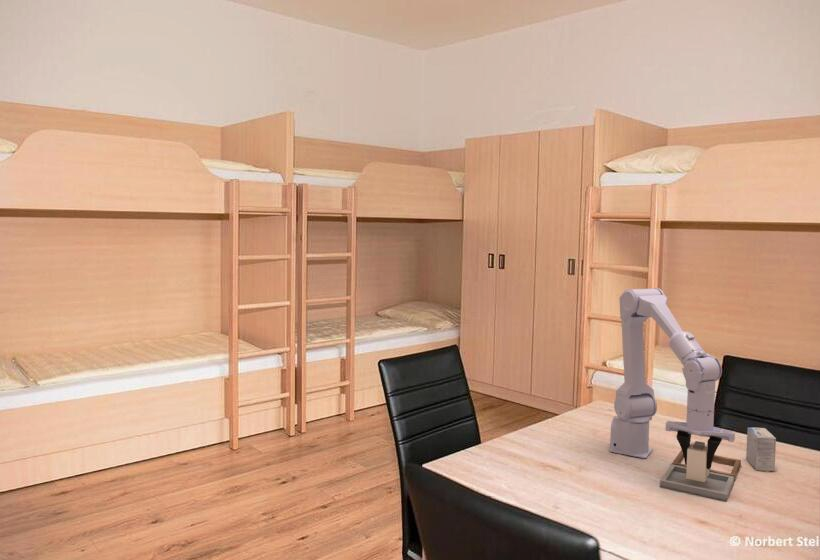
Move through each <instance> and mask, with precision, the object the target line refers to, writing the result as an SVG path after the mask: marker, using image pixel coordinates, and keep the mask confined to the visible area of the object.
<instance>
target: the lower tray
mask: <svg viewBox="0 0 820 560" xmlns="http://www.w3.org/2000/svg"><path fill="white" fill-rule="evenodd" d="M686 470H687V467H683V466H678V465H673V464H672V463H670V465H669V466H668V468H667V469H666V471H665V472H664V474H663V475H662V477H661V478H660V480H659V488H661V489H668V490H672V491H677V492H681V493H686V494H689V495H694V496H698V497H704V498H709V499H712V500H716V501H717V500H718V501H720V502H727V501H728V499H729V496H730V494H731V492H732V488H733V486H734V484H735V482H734V477H733V476H728V475H723V474H718V473H713V472H709V475H708V477H707V479H706V481H705V482H701V481H696V480H691V479H686Z"/></svg>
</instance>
